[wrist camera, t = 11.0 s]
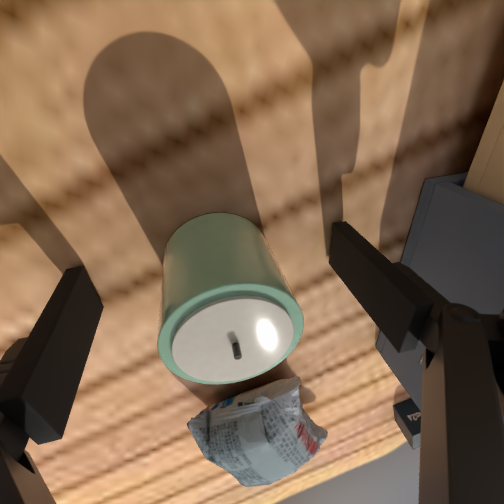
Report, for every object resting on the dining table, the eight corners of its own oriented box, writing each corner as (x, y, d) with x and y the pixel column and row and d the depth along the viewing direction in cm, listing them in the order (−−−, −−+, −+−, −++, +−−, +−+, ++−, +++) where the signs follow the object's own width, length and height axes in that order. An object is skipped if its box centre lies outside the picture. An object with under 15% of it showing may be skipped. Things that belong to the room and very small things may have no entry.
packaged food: (289, 349, 21) (314, 417, 17) (319, 412, 28) (342, 471, 24) (182, 392, 21) (182, 469, 17) (239, 444, 28) (248, 508, 24)
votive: (144, 233, 13) (123, 335, 8) (255, 197, 14) (301, 275, 8) (187, 310, 17) (191, 417, 11) (276, 280, 17) (318, 372, 12)
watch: (440, 377, 29) (554, 512, 21) (437, 408, 34) (529, 529, 25) (391, 398, 30) (483, 541, 21) (395, 426, 34) (471, 552, 25)
